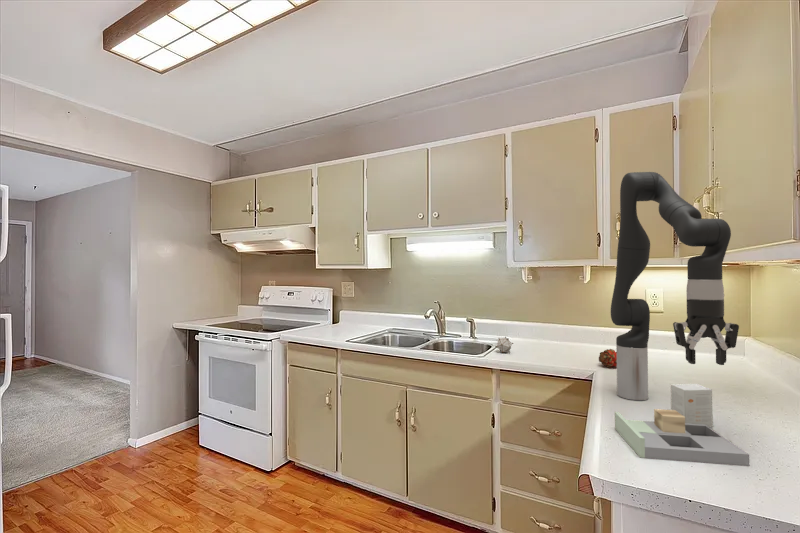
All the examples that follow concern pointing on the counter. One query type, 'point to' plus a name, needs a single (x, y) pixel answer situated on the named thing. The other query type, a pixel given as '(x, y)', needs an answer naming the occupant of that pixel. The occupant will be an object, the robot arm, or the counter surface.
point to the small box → (693, 403)
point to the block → (669, 421)
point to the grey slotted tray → (679, 443)
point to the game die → (504, 345)
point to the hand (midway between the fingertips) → (705, 363)
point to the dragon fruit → (608, 358)
